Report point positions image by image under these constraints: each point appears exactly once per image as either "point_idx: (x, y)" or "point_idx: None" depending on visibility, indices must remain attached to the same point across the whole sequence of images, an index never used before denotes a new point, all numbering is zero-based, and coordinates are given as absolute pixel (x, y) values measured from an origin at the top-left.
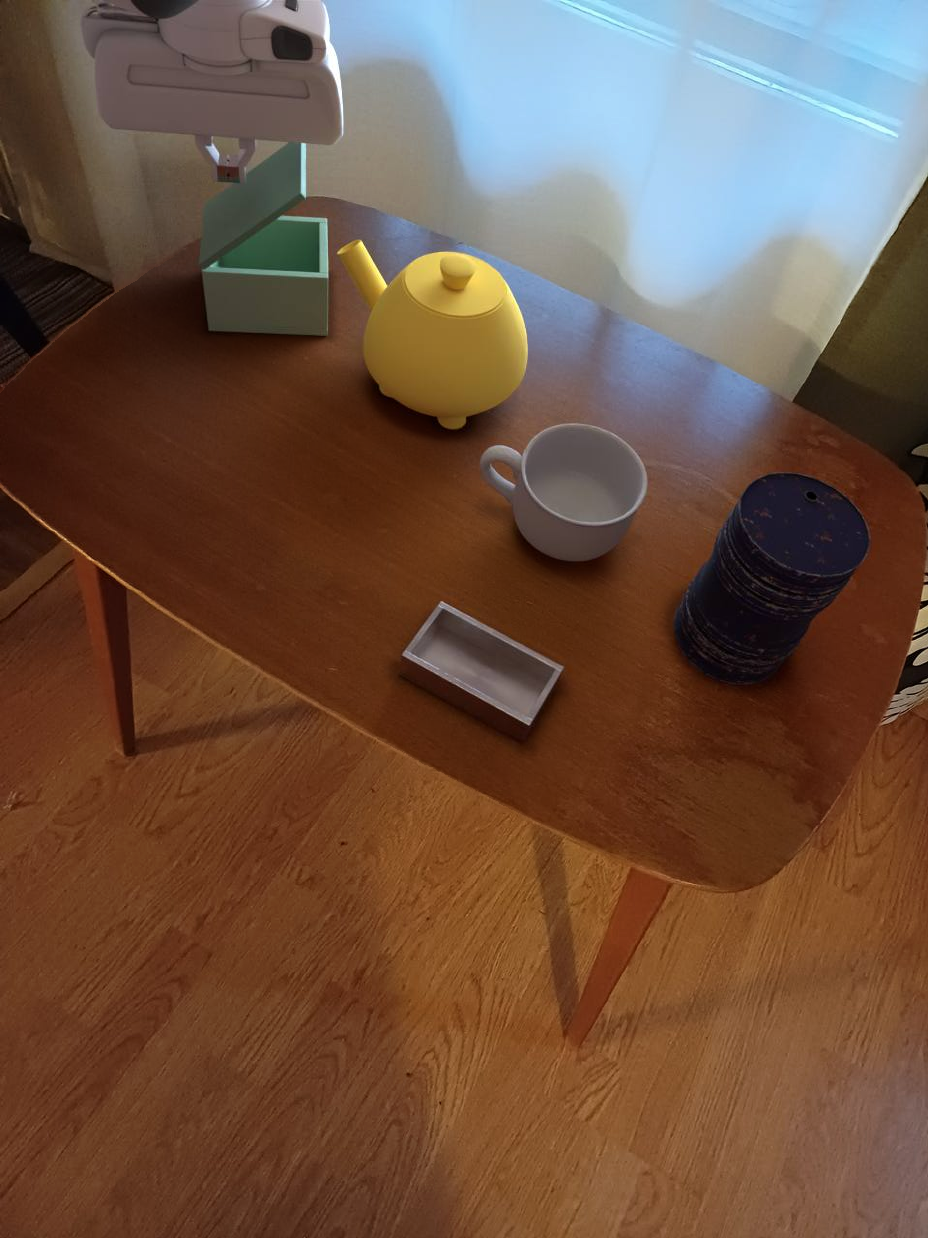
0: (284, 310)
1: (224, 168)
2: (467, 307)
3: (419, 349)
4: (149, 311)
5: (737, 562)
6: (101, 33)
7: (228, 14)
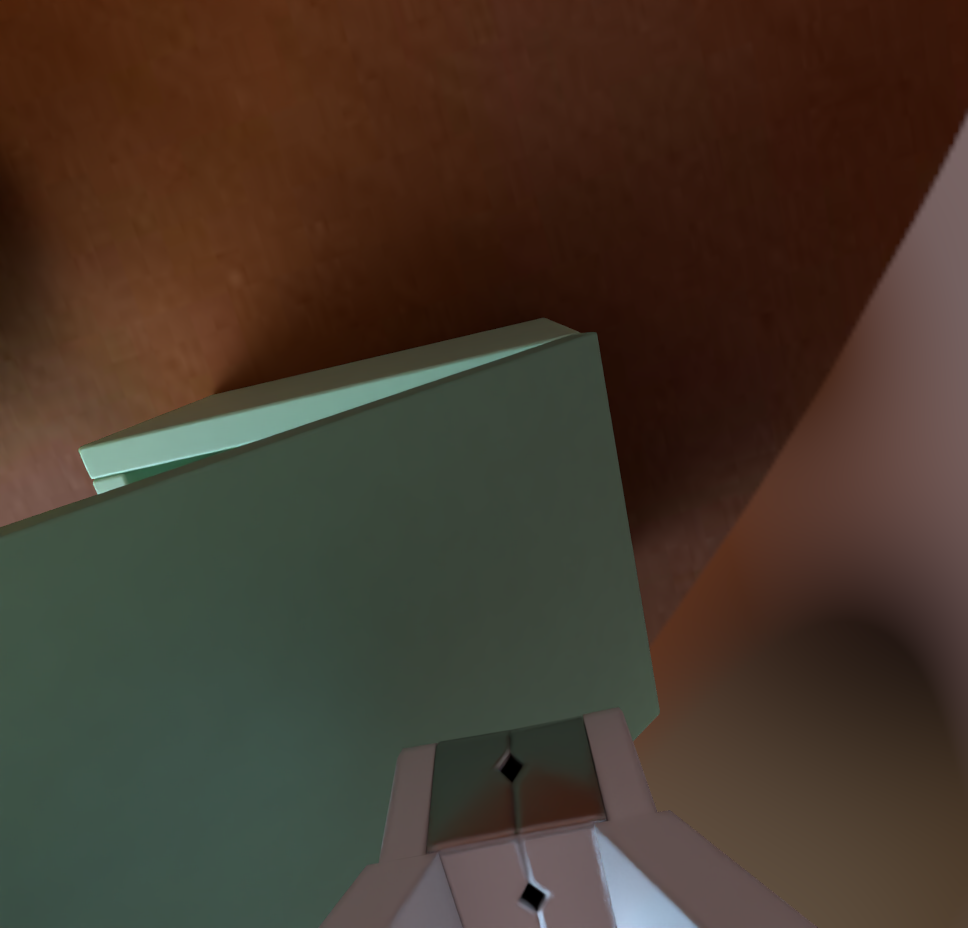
0: (303, 380)
1: (539, 805)
2: None
3: None
4: (731, 354)
5: None
6: None
7: None
